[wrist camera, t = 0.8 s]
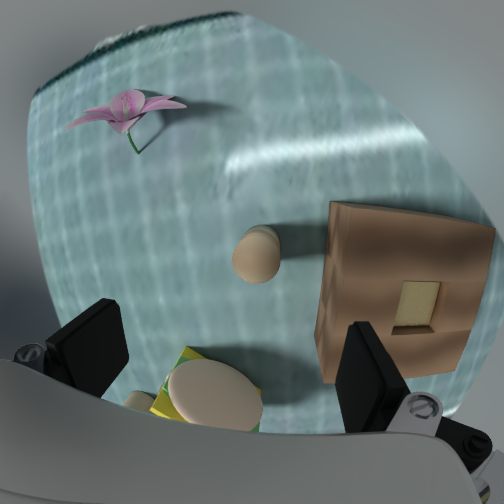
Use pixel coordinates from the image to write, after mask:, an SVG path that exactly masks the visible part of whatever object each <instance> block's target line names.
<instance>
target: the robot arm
mask: <svg viewBox="0 0 504 504" xmlns="http://www.w3.org/2000/svg"><path fill="white" fill-rule="evenodd" d="M45 343H46V346H47V350H46V351H44V348H43V347H42V346H41V345H39V344H35V343H34V344H26V345H24V346H22V347H20V348H19V349H18V350H17V351H16V352H15V354H14V358H13V361H8V360H1V359H0V504H504V453H502V452H501V451H499V450H496V451H495V452H493V451H492V446H493V445H492V441H491V439H490V438H489V436H488V435H487V434H486V433H484V432H482V431H480V430H477V429H474V428H472V427H469V426H466V425H464V424H461V423H458V422H456V421H453V420H451V419H448V418H446V417H443V416H442V414H443V406H442V403H441V402H440V400H439V399H438V398H436V397H435V396H434V395H432V394H430V393H426V392H413V393H411V392H410V390H409V388H408V386H407V385H406V383H405V381H404V379H403V377H402V375H401V374H400V372H399V370H398V368H397V366H396V365H395V363H394V361H393V359H392V358H391V356H390V355H389V353H387V351H386V349H385V347H384V346H383V344H382V342H381V340H380V339H379V337H378V335H377V334H376V332H375V330H374V329H373V327H372V325H371V324H370V322H369V321H354V323H353V325H349V327H348V330H347V335H346V339H345V343H344V348H343V352H342V356H341V360H340V364H339V368H338V371H337V375H336V379H335V387H336V391H337V396H338V400H339V404H340V409H341V413H342V418H343V422H344V427H345V432H346V433H339V434H281V433H263V432H251V431H241V430H232V429H225V428H218V427H211V426H205V425H199V424H194V423H188V422H183V421H179V420H174V419H170V418H165V417H161V416H157V415H153V414H149V413H146V412H142V411H139V410H135V409H132V408H128V407H125V406H122V405H119V404H116V403H113V402H110V401H107V400H104V399H101V397H102V395H103V394H104V393H105V391H106V390H107V389H108V388H109V386H110V385H111V384H112V382H113V381H114V380H115V379H116V377H117V376H118V375H119V373H120V372H121V371H122V370H123V368H124V367H125V366H126V365H127V363H128V361H129V353H128V349H127V344H126V339H125V334H124V329H123V324H122V318H121V312H120V307H119V305H118V304H117V303H116V301H115V300H112V299H106V298H102V299H100V300H99V301H98V302H96V303H95V304H93V305H92V306H91V307H89V308H88V309H87V310H85V311H84V312H82V313H81V314H80V315H78V316H77V317H76V318H74V319H73V320H72V321H70V322H69V323H68V324H66V325H65V326H64V327H62V328H61V329H60V330H58V331H57V332H56V333H55V334H53V335H52V336H51V337H49V338H48V339H47V340H46V341H45Z"/></svg>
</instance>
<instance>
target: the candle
mask: <svg viewBox="0 0 504 504" xmlns="http://www.w3.org/2000/svg"><path fill="white" fill-rule="evenodd" d="M154 402H155V400H154V399H153V398H152V397H151V396H149V395H148V394H146V393H144V392H141V391H133V392H132V393H131V394H130V395H129V396H128V398H127V399H126V401H125V402H124V404H123V405H122V406H125V407H128V408H132V409H135V410H139V411H142V412H146V413H149V414H153V415H156V414H155V413H153V412H151V411H150V409H151V407H152V405H153V403H154Z"/></svg>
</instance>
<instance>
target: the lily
mask: <svg viewBox="0 0 504 504" xmlns="http://www.w3.org/2000/svg"><path fill="white" fill-rule="evenodd" d="M171 97H174V96H172V95H166V96H156V97H151V98H146V99H145V96H144V95H143V93H142V92H140V91H138V90H134V89H130V90H125V91H123V92H121V93H119V94H117V95H116V96H115V97H114V98H113V99H112V100H111V102H110V105H104V106H99V107H94V108H91V109H88V110H85V111H83V112H84V113H88V114H85V115H83V116H81V117H79V118H77V119H76V120H74V121H73V122H71V123H70V124H69V125H67V126H66V127H65V128H64V130H66V129H69V128H72V127H75V126H78V125H81V124H84V123H88V122H91V121H97V120H106V121H108V123H109V125H110V126H111V127H112V128H113V129H114V130H115V131H117V132H118V133H121V134H122V133H123V132H125V131H126V132H127V135H128V138H129V141H130V143H131V145H132V147H133V148H134V150H135V151H136V153H137V154H139V151H138V150H137V148H136V147H135V145H134V143H133V141H132V139H131V136H130V132H129V130H130V128H131V127H132V126H133V125H134V124H135V123H136V122H137V121H138V120H139V119H140V118H142V117H143V116H144V115H145V114H146V113H147V112H148V111H152V110H158V109H174V108H186V107H187V106H185V105H184V104H181V103H178V102H175V101H171V100H167V99H169V98H171Z"/></svg>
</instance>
